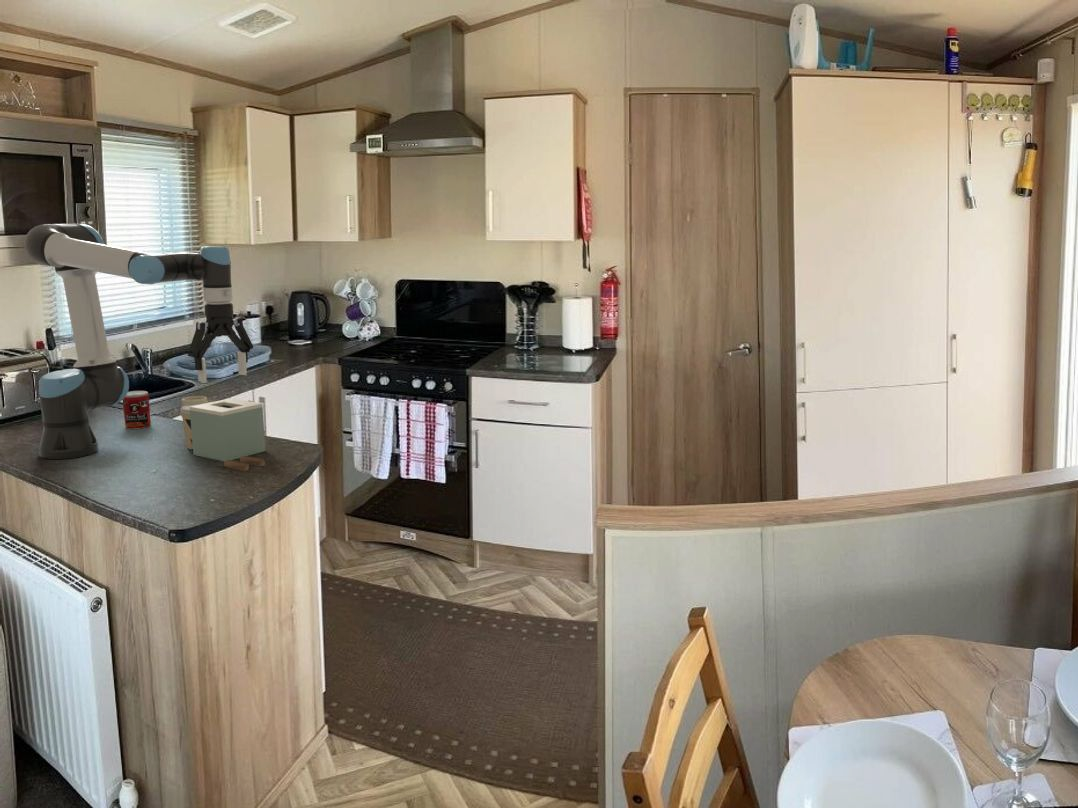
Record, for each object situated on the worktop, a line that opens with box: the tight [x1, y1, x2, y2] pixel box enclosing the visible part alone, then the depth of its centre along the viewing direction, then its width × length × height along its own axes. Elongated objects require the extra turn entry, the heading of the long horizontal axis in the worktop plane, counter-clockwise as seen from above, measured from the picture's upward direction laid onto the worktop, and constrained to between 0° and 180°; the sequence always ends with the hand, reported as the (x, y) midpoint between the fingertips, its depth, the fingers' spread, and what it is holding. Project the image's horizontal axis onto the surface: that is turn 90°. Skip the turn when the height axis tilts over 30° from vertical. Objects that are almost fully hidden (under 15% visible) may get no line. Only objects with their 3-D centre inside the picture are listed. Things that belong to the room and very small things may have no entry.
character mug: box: [180, 395, 210, 417], centre depth 275 cm, size 11×7×13 cm, turn 156°
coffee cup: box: [180, 404, 200, 450], centre depth 268 cm, size 9×9×12 cm
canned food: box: [122, 390, 152, 429], centre depth 295 cm, size 8×8×11 cm
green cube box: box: [190, 397, 266, 462], centre depth 261 cm, size 14×14×14 cm
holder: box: [223, 456, 266, 472], centre depth 248 cm, size 7×8×2 cm
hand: (223, 378), depth 258 cm, fingers open, 13 cm apart
